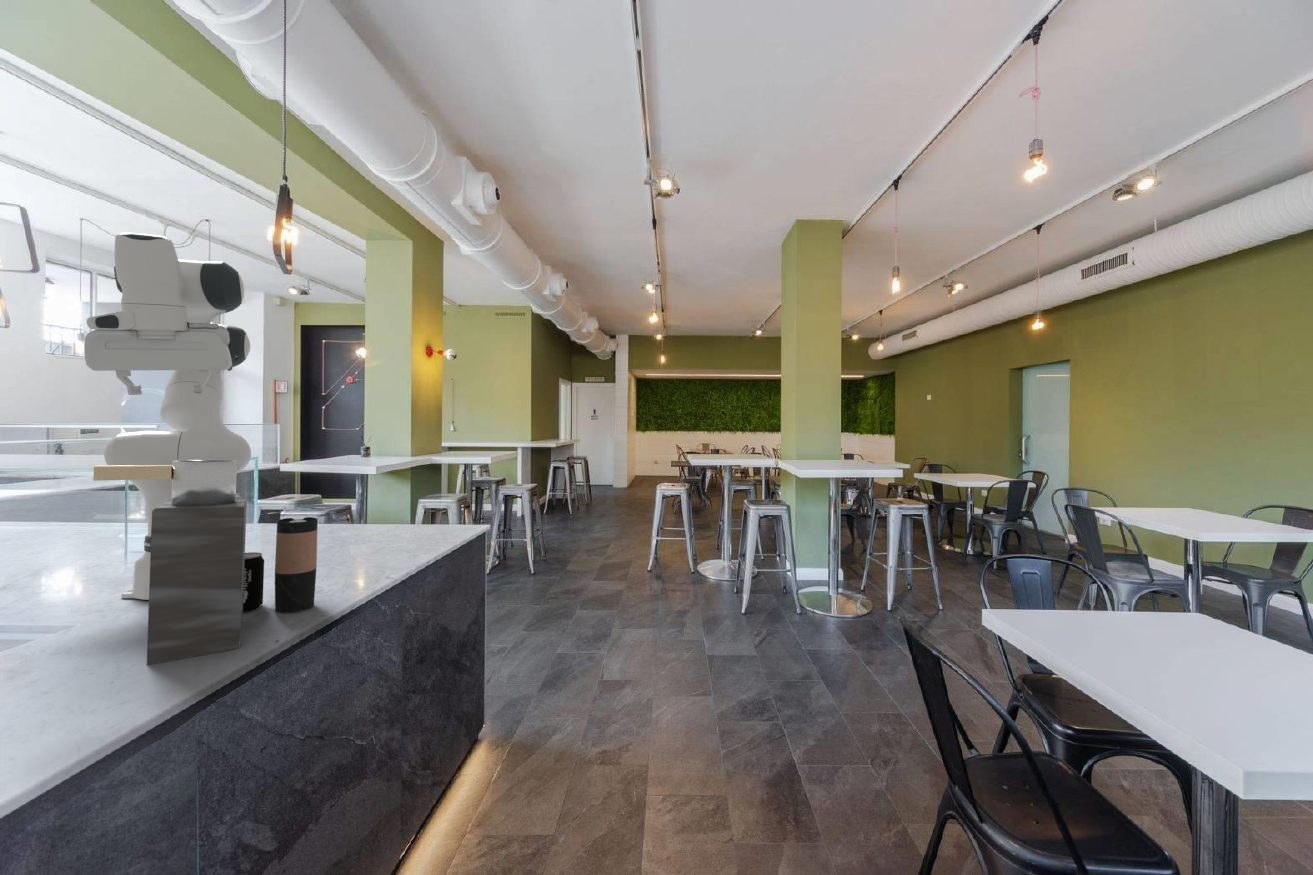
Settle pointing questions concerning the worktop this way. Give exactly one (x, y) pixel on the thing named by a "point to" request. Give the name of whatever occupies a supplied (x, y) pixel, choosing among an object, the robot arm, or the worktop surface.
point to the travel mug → (295, 564)
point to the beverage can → (253, 581)
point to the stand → (196, 580)
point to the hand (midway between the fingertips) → (168, 393)
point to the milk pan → (183, 479)
